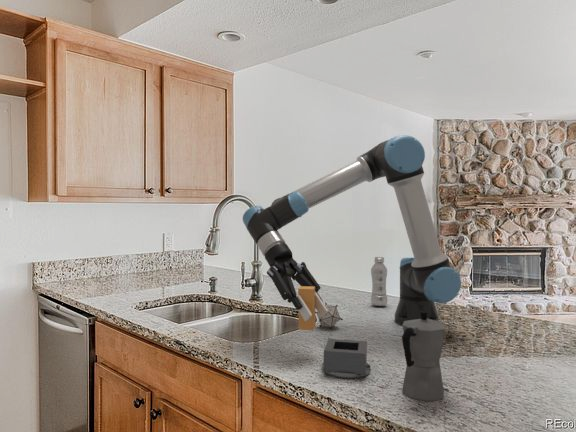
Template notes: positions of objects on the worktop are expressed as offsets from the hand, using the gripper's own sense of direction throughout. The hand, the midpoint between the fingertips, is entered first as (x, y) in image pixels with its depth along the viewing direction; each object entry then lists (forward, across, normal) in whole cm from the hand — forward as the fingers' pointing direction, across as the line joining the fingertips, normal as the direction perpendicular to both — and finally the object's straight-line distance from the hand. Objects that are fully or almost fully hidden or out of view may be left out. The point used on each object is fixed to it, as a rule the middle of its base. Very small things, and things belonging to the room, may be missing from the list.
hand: (316, 316), depth 118 cm
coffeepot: (+30, 0, +13) cm, 33 cm away
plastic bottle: (-9, -65, -27) cm, 71 cm away
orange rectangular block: (0, 0, -5) cm, 5 cm away
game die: (-5, -26, -22) cm, 34 cm away
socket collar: (+15, 0, -1) cm, 15 cm away
